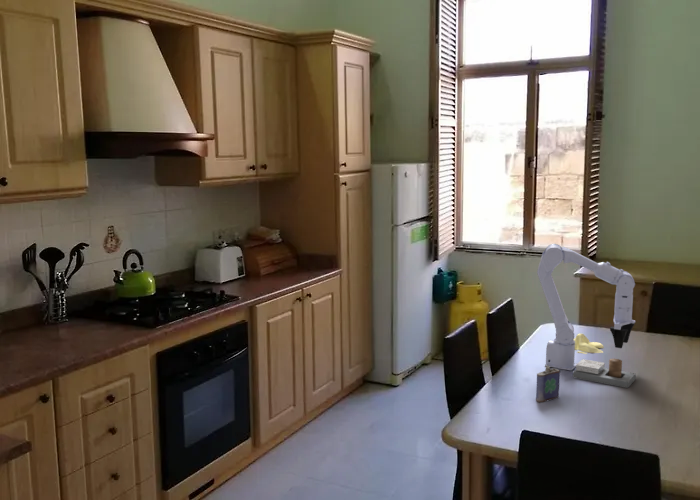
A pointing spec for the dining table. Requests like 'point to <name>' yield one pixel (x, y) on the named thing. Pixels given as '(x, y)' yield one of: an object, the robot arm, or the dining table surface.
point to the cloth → (586, 345)
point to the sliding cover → (590, 366)
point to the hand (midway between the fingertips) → (621, 345)
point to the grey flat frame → (607, 377)
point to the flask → (547, 384)
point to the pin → (615, 368)
